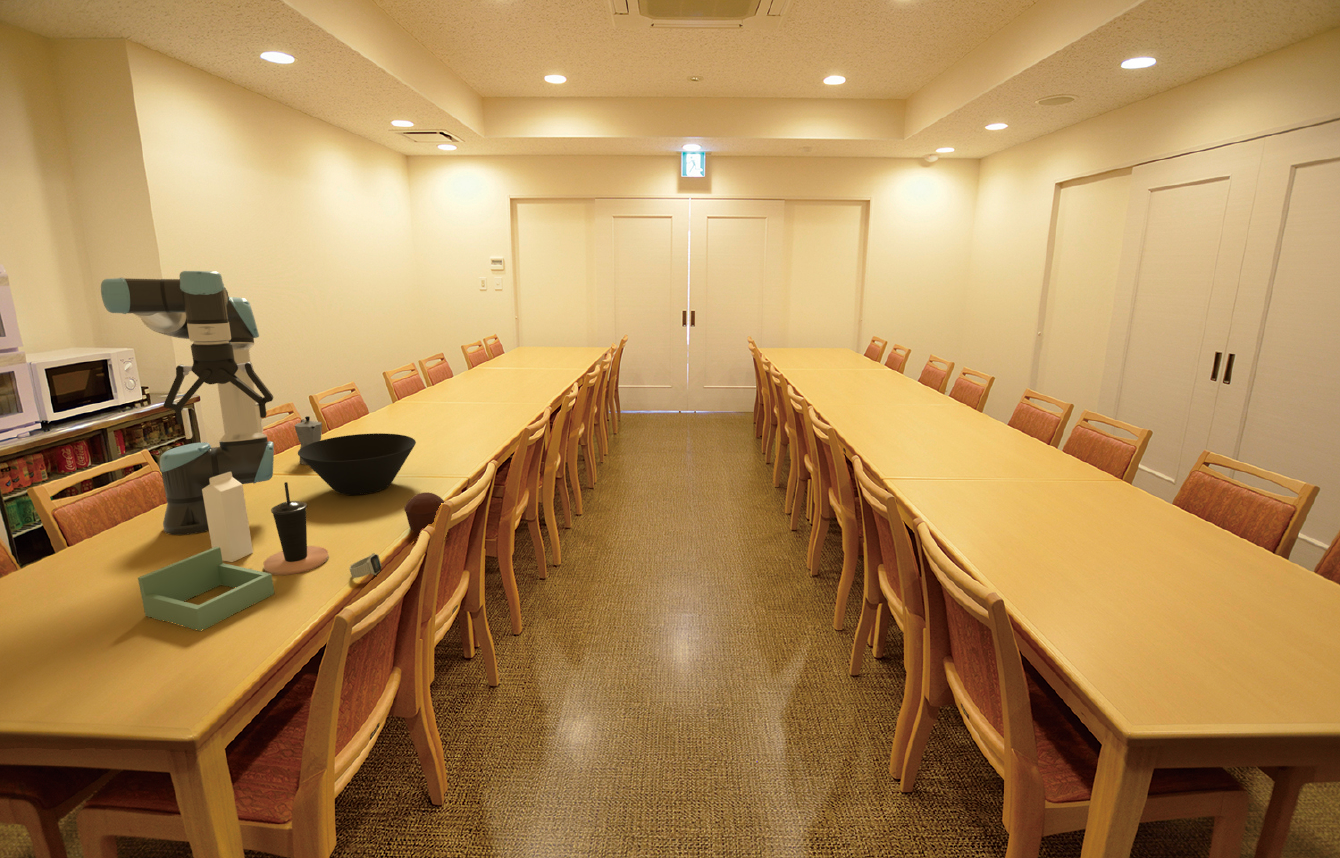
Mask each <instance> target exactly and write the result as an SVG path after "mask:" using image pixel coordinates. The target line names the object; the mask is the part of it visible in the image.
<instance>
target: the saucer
mask: <svg viewBox="0 0 1340 858" xmlns="http://www.w3.org/2000/svg"><path fill="white" fill-rule="evenodd" d="M327 559H328V560H329V552H328V549H326V548H324V547H321V546H317V545H315V546H314V545H307V557H306V558H305V559H303V560H300V561H295V562H287V561H285V558H284V554H283V550H282V551H279V552H276V553H274V554H272V555H270V556H269V557H267V558H266V559H265V560H264V562H263V570H264V572H266V573H270V574H272V576H273V575H275V576H290V575H296V574H301V573H305V572H309V571H311V570H314V569H316V568H318V566H319V567H321V566H322V565H323V563H324V562H325V563H326V562H327V561H328V560H327ZM325 563H324V564H325ZM321 564H322V565H321ZM308 570H309V571H308ZM304 571H305V572H304Z"/></svg>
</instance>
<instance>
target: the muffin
mask: <svg viewBox="0 0 1340 858" xmlns="http://www.w3.org/2000/svg"><path fill="white" fill-rule="evenodd" d="M444 502H445V500H444V499H443V498H442V497H441V496H439V495H437V494H436V493H434V492H421V493H417V494H415V495H414V496H412V497H411V498H410V499H409V500H408V501H407V503H406V504H405V506H404V509H403V510H404V512H405V515H406V518H407V522H408V526H409V530H411V531H412V532H413V533H419V532H420V530H421V529H422V528H425V527H426V526H427V525H428V524H432V523H433V522H434V518H435V515H436V511H437V510H438V508H439V506H440V505H441V503H444ZM419 534H420V533H419Z"/></svg>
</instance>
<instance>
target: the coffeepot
mask: <svg viewBox="0 0 1340 858" xmlns="http://www.w3.org/2000/svg"><path fill="white" fill-rule="evenodd" d="M310 419H311V418H310V416H305V417H304V419H301V420H300V422H298V423H295V425H294V431H295V433H296V436H297V440H298V442H299V443H300V449H301V448H302V447H304V446H306V445H308V444H311V443H314V442H317V441H321V440H322V425H323V424H322V421H316V420H310ZM300 449H299V450H300ZM298 463H299V464H301V465H304V466H305V465H306V466H307V465H308V464H307V463H306V462H305V461H304V460H303V459H302V458H301V457H300V456H299V462H298ZM308 466H309V465H308Z"/></svg>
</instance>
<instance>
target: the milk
mask: <svg viewBox="0 0 1340 858" xmlns="http://www.w3.org/2000/svg"><path fill="white" fill-rule="evenodd" d="M209 481H210V484H209V485H208V486H206V487H205V488H203V489H202V493H203V499H204V504H205V510H206V516H207V522H208V528H209V530H208V532H209V533H208V534H209V538H210V543H211V548H214V547H220V549H221V555H222V561H223V562H230V563H234V562H236V561H238V560H241V559H242V558H244V557H247V556H249V555H251V554H253V553H254V550H253V543H252V542H253V541H252V537H251V531H250V530H251V529H250V524H249V517H248V510H247V506H246V504H247V503H246V498H245V492H244V491H245V490H244V486H243V485H244V484H241V483H240V482H239V481H237V480H236V479H235V478H233V477H232V472H227V473H224V474H221V475H218V476H215V477H212V478H210V479H209Z"/></svg>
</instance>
